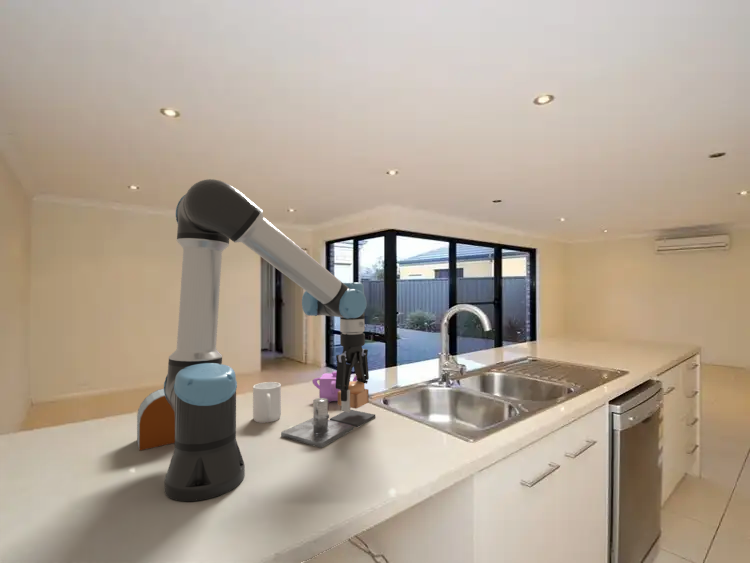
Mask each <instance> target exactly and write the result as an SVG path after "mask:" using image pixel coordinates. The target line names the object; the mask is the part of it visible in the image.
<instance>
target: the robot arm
mask: <svg viewBox="0 0 750 563" xmlns="http://www.w3.org/2000/svg"><path fill="white" fill-rule="evenodd" d="M175 218H176V222H177V229H176V230H177V233H176V242H177V243H178V245H180V247H181V248H182V263H181V264H182V265H181V278H180V279H181V280H180V292H179V293H180V294H179V295H180V296H179V306H178V307H179V308H178V310H179V312H178V323H177V324H178V325H177V336H176V337H177V338H176V339H177V340H176V350H174V351H173V352H172V353H171V354H170V355H169V356H168V365H167V374H166V377H165V380H164V382H163V388H164V394H165V397H166V399H167V401H168V403H169V404H170V405H171V407H172V409H173V410H174V412H175V443H174V449H173V452H172V453H173V454H172V456H171V459H170V462H169V465H168V469H167V473H166V475H165V477H164V493H165V496H167V497H168V498H169V499H172V500H174V501H179V502H195V501H196V502H197V501H198V502H199V501H203V500H209V499H212V498H213V499H214V498H215V497H218V496H221V495H223V494H226V493H228V492H230V491H232V490H233V489H235V488H236V487H237V486H239V485H240V484H241V483H242V481H243V480H244V479H245V474H246V473H245V472H246V471H245V465H246V464H245V461H244V459H243V455H242V451H241V450H240V448H239V444H238V441H237V388H238V381H237V378H236V371H235V370H234V369H233V367H231V366H229V365H226V364H223V354H221V353H220V352H219V350H218V348H217V341H218V340H217V338H218V322H219V321H218V319H219V306H220V292H221V288H220V286H221V276H222V273H221V272H222V260H223V256H222V254H223V252H224V251H225V250H226V249H227V248H229V246H230V240H231V241H232V242H234V243H242V244H243V245H245V246H246V248H248V249H250V250H251V251H253V252H254V253H255V254H257V255H258V256H259V257H260V258H262V259H263V260H264V261H266V262H267V263H269V264H270V266H272V267H274V268H275V269H277V270H278V271H279V272H280V273H282V274H283V275H284V276H286V277H287V278H289V280H291V282H293V283H295V284H296V285H297V286H298V287H300V288H302V290H304V293H303V294H302V297H301V298H302V299H301V306H302V311H303V313H304V315H307V316H311V317H312V316H315V317H318V316H327V317H336V318H339V332H340V334H339V335H340V336H339V337H340V339H339V340H340V342H339V344H340V346H341V347H342V348H343V349H342V353H341V354H337V355H336V357H335V359H336V371H337V373H336V389H340V390H341V406H340V407H341V412H350V410H351V408H350V390H348V387H349V382H350V381H351V376H352V372H353V371H352V370H353V368H354V373H355V376H356V377H357V381H359V382H363V383H364V385H366V384H368V383H369V378H370V375H369V364H368V363H369V361H368V360H369V359H368V352H369V351H368V349H367V348H363V347H364V346H365V344H366V343H365V342H366V341H365V340H366V335H365V333H364V332H365V323H366V322H365V311H366V309H367V305H368V302H367V298H366V295H365V286H364V284H363V283H362V282H342V281H341V280H340V279H339V278H337V277H336V276H335V275H334V274H332V273H331V272H330V271H329V270H328V269H327V268H325V267H324V266H323V265H322V264H320V263H319V262H318V261H317V260H316V259H314V257H312V256H311V255H309V254H308V252H306V251H305V250H304V249H303V248H302V247H300V246H299V245H298V244H297V243H295V242H294V240H292V239H291V238H289V237H288V236H287V235H285V233H283V232H282V231H281V230H280V229H278V227H276V226H275V225H274V224H272V222H270V221H269V220H268V219H267V218H265V217H264V212H263V209H262V208H260V206H258V205H257V204H256V203H254V202H253V201H252V200H251V199H250V198H248V197H247V196H246V195H245V194H244V193H242V192H241V191H240V190H239V189H237V188H235V187H234V186H232V185H230V184H229V183H226V182H224V181H222V180H217V179H214V178H213V179H211V178H210V179H208V178H207V179H203V180H199V181H197V182H196V183H194V184H192V185H191V187H190V188H188V189H187V191H186V193H185V194H184V195H183V196H182V197H181V198H180V199H179V200H178V203H177V205H176V208H175Z"/></svg>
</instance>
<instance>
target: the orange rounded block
mask: <svg viewBox="0 0 750 563" xmlns="http://www.w3.org/2000/svg"><path fill="white" fill-rule="evenodd" d="M136 420H137V421H136V423H137V424H136V441H137V446H138V451H143V450H148V449H153V448H157V447H162V446H166V445H171V444H175V412H174V410H173V409H172V407H171V405H170V404H169V403H168V401H167V399H166V397H165V394H164V387H163V388H160V389H157V390H155V391H152V392H151V393H149V394H148V395H147V396H146V397H145V398H144V399H143V400H142V402H141V403H140V405H139V407H138V410H137V414H136Z"/></svg>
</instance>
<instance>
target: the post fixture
mask: <svg viewBox="0 0 750 563" xmlns="http://www.w3.org/2000/svg"><path fill="white" fill-rule="evenodd" d="M312 403H313V406H312V408H313V409H312V414H313V415H312V416H313V417H312V418H309V419H308V420H305V421H303V422H301V423H299V424H296V425H294V426H292V427H289V428H287V429H285V430H282V431H281V432H280V437H282V438H285V439H287V440H292V441H295V442H298V443H302V444H306V445H310V446H313V447H317V448H319V449H322V448H324V447H326V446H327V445H329V444H330V443H331V444H332V442H334V441H336V440H338V439H339V438H341V437H343V436H345V435H347V434H348V433H350V432H352V431H354V427H353V425H349V424H344V423H340V422H336V421H331V420H330V413H329V403H328V399H325V398H315V399H313V402H312Z"/></svg>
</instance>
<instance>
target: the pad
mask: <svg viewBox="0 0 750 563" xmlns="http://www.w3.org/2000/svg"><path fill="white" fill-rule="evenodd" d="M375 418H376V414H375V413H369V412H365V411H364V412H363V411H358V410H356V409H355V410H354V409H350V412H344V411H342V412H341V413H339V414H337V415H334V416H331V417H329V420H331V421H336V422H340V423H344V424H349V425H353V428H359V427H361V426H362V425H364V424H366V423H368V422H369V421H371V420H373V419H375Z"/></svg>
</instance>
